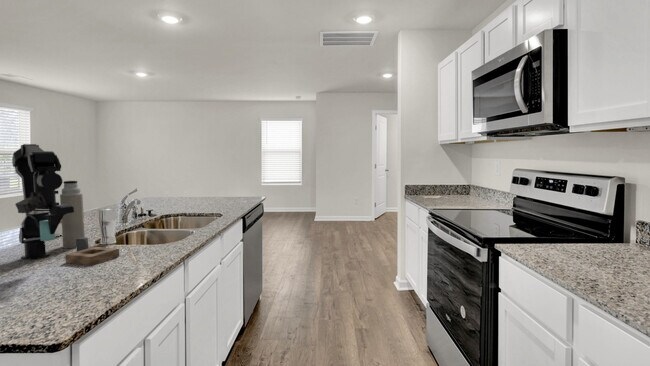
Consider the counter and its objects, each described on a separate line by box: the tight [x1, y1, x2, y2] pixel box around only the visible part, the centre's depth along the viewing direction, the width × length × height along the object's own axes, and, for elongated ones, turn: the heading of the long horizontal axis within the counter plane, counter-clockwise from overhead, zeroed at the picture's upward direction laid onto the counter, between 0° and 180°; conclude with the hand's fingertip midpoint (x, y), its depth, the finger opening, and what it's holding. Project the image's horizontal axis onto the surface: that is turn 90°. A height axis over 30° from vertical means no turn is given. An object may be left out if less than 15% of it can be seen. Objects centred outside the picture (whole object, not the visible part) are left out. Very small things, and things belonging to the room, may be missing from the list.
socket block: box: [65, 246, 120, 266], centre depth 141 cm, size 12×12×3 cm
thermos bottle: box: [59, 180, 86, 249], centre depth 162 cm, size 8×8×28 cm
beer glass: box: [97, 207, 117, 245], centre depth 168 cm, size 7×7×15 cm
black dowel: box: [75, 236, 90, 252], centre depth 150 cm, size 4×4×6 cm
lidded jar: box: [55, 220, 62, 238], centre depth 183 cm, size 11×11×9 cm
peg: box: [39, 220, 56, 242], centre depth 130 cm, size 4×4×6 cm
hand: (47, 233), depth 130 cm, fingers closed on peg, 4 cm apart
